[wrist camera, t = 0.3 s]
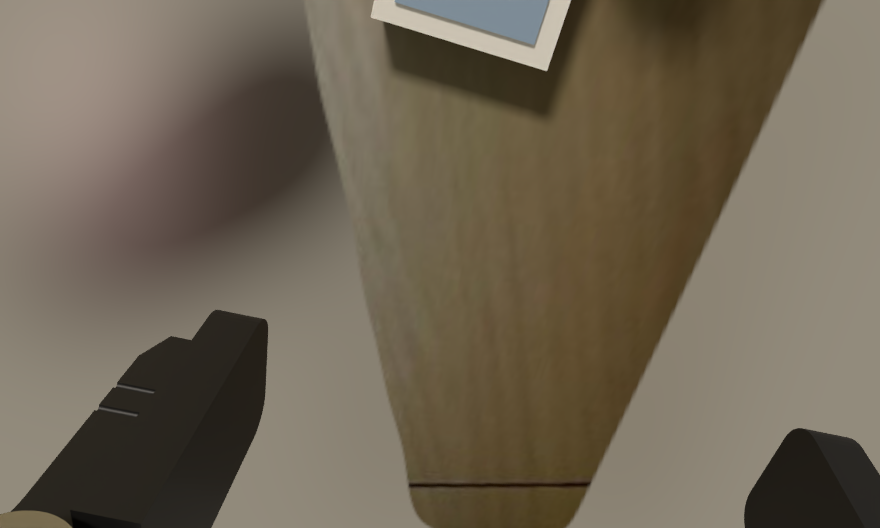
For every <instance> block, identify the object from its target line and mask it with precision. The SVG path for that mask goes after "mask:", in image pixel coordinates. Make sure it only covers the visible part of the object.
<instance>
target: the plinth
mask: <svg viewBox="0 0 880 528" xmlns="http://www.w3.org/2000/svg"><path fill="white" fill-rule="evenodd" d="M570 2H571V0H374V4H373V9H372V14H371V18H375V19H378V20H381V21H385V22H388V23H391V24H394V25H398V26H401V27H404V28H407V29H411V30H414V31H417V32H420V33H424V34H427V35H430V36H433V37H437V38H440V39H443V40H446V41H450V42H453V43H456V44H460V45H463V46H466V47H469V48H473V49H476V50H479V51H482V52H486V53H489V54H492V55H495V56H499V57H502V58H505V59H508V60H512V61H515V62H518V63H521V64H525V65H528V66H531V67H535V68H538V69H541V70H544V71H547V70H548V67H549V64H550V61H551V58H552V55H553V52H554V49H555V46H556V43H557V40H558V37H559V34H560V31H561V28H562V25H563V22H564V20H565V17H566V14H567V11H568V8H569V5H570Z"/></svg>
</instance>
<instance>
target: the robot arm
mask: <svg viewBox="0 0 880 528" xmlns="http://www.w3.org/2000/svg"><path fill="white" fill-rule="evenodd" d="M267 343H268V324H267V321H266V320H265V319H261V318H256V317H250V316H245V315H240V314H236V313H230V312H226V311H221V310H215V311H213V312H212V313H211V314H210V315H209V317H208V318H207V319H206V321H205V322H204V324H203V325H202V326H201V328H200V329H199V331H198V332H197V333H196V335H195V336H194V338H193V339H192V340H187V339H182V338H177V337H172V336H171V337H169V338H167V339H166V340H164V341H162V342H161V343H159V344H157V345H156V346H154V347H152V348H151V349H150V350H147V351H146V352H144V353H142V354H141V355H139V356H138V357H137V359H136V360H135V361H134V362H133V364H132V365H131V366H130V367H129V369H128V370H127V371H126V372H125V373H124V375H123V376H122V377H121V378H120V380H119V381H118V382H117V387H116V388H112V390H111V391H110V392H109V393H108V394H107V396H106V397H105V398H104V400H103V401H102V402H101V403H100V404H99V409H98V410H97V411H95V410H94V412H93V413H92V414H91V415H90V417H89V418H88V419H87V420H86V422H85V423H84V424H83V425H82V427H81V428H80V429H79V430H78V431H77V433H76V434H75V435H74V436H73V438H72V439H71V440H70V441H69V443H68V444H67V445H66V446H65V448H64V449H63V450H62V451H61V452H60V454H59V455H58V457H56V459H55V460H54V461H53V462H52V464H51V465H50V466H49V467H48V469H47V470H46V471H45V473H43V475H42V476H41V477H40V479H39V480H38V481H37V482H36V484H35V485H34V486H33V487H32V488H31V490H30V491H29V492H28V493H27V494H26V496H25V497H24V498H23V499H22V500H21V502H20V503H19V504H18V505H17V506H16V507H15V508H14V509H13V510H12V511H11V512H7V513H3V514H0V528H211V527H212V525H213V523H214V521H215V519H216V517H217V515H218V512H219V510H220V508H221V506H222V504H223V502H224V500H225V498H226V495H227V493H228V491H229V489H230V487H231V485H232V483H233V480H234V479H235V476H236V474H237V472H238V470H239V468H240V466H241V464H242V461H243V459H244V457H245V455H246V453H247V451H248V449H249V447H250V445H251V442H252V441H253V438H254V436H255V434H256V431H257V428H258V425H259V422H260V419H261V415H262V411H263V406H264V400H265V386H266V365H267ZM744 523H745V528H880V475H879V473H878V472H877V470H876V469H875V467H874V466H873V464H872V462H871V461H870V459H869V458H868V456H867V455H866V453H865V452H864V450H863V448H862V447H861V446H860V445H859V444H858V443H857V442H856V441H855V440H853V439H850V438H847V437H842V436H837V435H832V434H827V433H822V432H817V431H812V430H807V429H802V428H798V429H794V430H792V431H791V432H790V433H789V434H787V436H786V437H785V439H784V440H783V442H782V443H781V445H780V447H779V448H778V450H777V451H776V453H775V455H774V456H773V457H772V459H771V461H770V462H769V464H768V465H767V467H766V469H765V470H764V471H763V473H762V475H761V476H760V478H759V479H758V481H757V483H756V484H755V486H754V487H753V489H752V490H751V492H750V494H749V496H748V499H747V501H746V505H745V514H744Z"/></svg>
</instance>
